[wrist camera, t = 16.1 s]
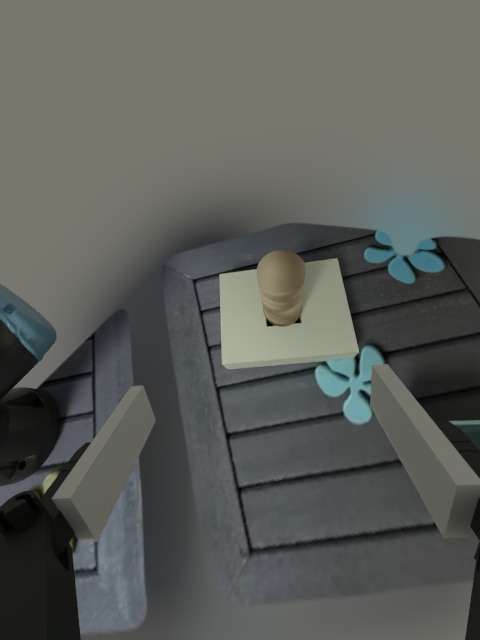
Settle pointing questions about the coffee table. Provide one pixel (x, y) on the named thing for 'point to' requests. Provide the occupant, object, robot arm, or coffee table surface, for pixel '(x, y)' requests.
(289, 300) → the tan wooden cylinder
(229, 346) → the sage board
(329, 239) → the coffee table surface
